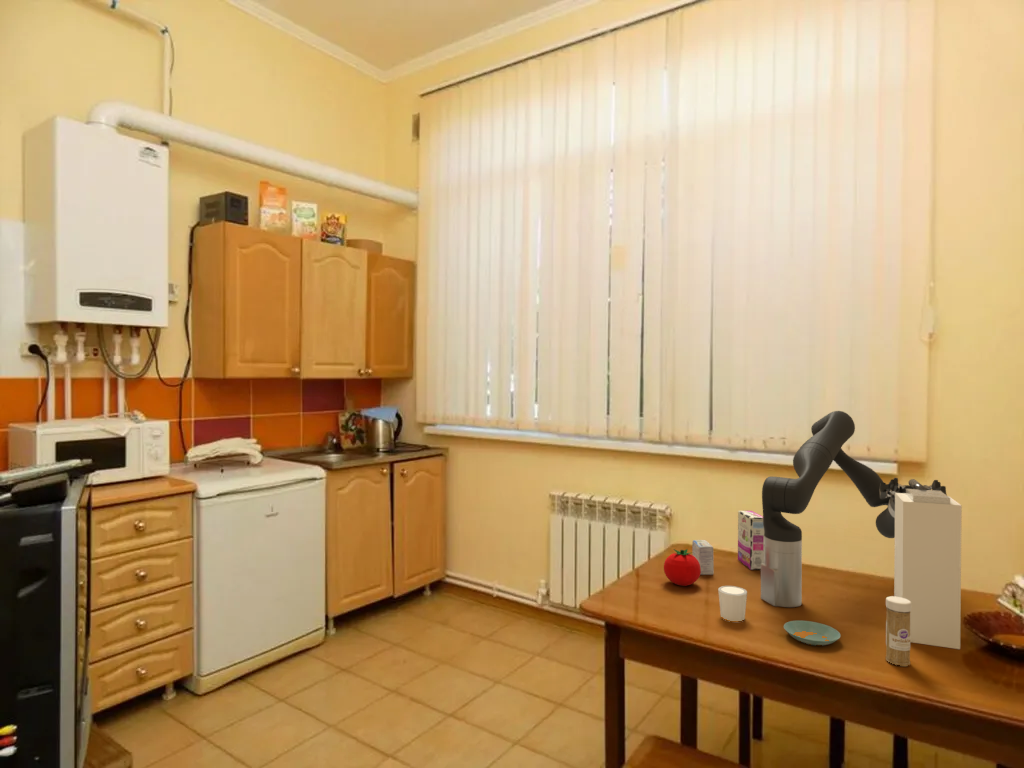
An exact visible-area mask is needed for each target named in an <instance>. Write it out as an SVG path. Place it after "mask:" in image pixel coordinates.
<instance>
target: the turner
mask: <svg viewBox="0 0 1024 768" xmlns="http://www.w3.org/2000/svg"><path fill="white" fill-rule="evenodd" d="M908 485H909V486H911V487H912V488H913V489H906V495H907V496H908V497H909V498H910V499H911V500H912V501H913V502H925V503H939V504H950V497H951V496H950V497H948V496H949V495H946V494H947V493H946V494H944V493H943V492H942V491H936V490H932V489H931V490H927V489H926V488H925V487H924V484H922V483H920V482H919V481H918V480H916V479H913V478H911V479H909V481H908Z"/></svg>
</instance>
